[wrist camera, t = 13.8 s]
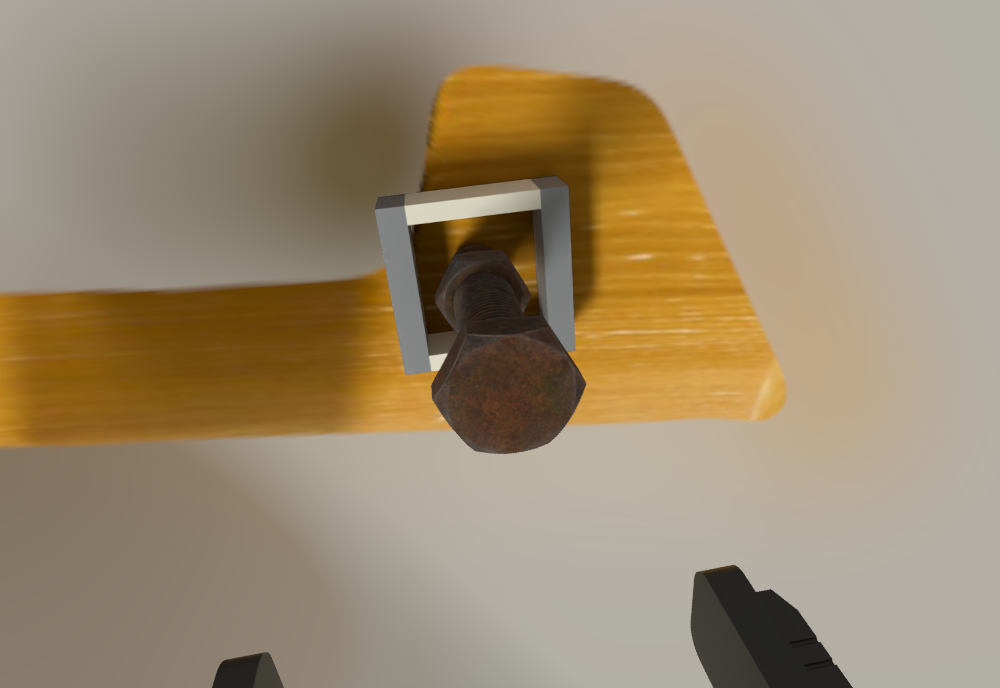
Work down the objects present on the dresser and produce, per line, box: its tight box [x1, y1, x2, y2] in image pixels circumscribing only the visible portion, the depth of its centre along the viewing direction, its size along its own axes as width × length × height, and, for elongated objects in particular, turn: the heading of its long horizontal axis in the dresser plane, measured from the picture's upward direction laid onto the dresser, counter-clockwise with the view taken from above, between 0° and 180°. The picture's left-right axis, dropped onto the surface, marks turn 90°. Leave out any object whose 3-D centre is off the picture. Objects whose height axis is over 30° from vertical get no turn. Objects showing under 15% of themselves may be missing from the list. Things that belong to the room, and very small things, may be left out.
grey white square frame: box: [375, 176, 575, 375], centre depth 34 cm, size 10×10×3 cm
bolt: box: [431, 244, 586, 454], centre depth 29 cm, size 6×5×15 cm
